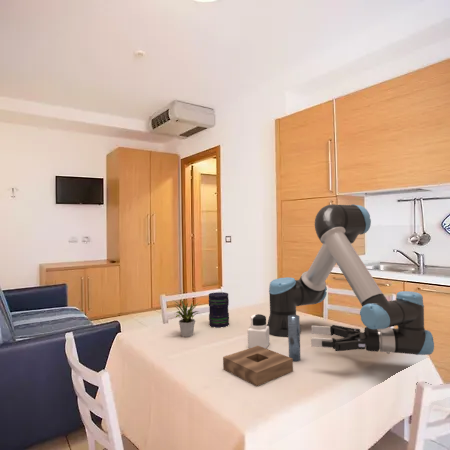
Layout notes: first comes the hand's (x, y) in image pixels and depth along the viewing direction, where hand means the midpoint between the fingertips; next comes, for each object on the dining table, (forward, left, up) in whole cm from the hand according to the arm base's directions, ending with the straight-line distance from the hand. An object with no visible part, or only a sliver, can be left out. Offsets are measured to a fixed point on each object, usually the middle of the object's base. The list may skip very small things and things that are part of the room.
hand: (311, 335), depth 113 cm
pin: (-5, -3, -9) cm, 11 cm away
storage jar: (-57, +3, -9) cm, 58 cm away
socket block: (-7, -19, -9) cm, 22 cm away
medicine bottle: (-23, -3, -9) cm, 25 cm away
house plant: (-55, -18, -9) cm, 59 cm away
